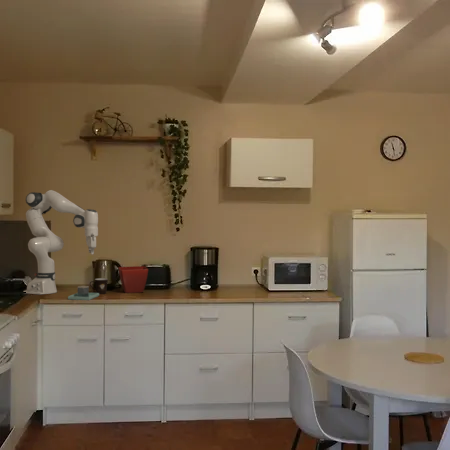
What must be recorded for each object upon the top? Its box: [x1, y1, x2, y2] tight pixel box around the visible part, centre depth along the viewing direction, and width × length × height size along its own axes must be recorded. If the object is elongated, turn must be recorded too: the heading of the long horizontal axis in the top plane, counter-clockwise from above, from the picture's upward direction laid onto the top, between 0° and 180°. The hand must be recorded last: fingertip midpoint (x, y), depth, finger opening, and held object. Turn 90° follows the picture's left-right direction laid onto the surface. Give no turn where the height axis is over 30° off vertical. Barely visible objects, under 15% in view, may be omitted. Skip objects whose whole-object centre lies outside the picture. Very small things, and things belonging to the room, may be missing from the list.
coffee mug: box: [89, 277, 109, 295], centre depth 391 cm, size 12×9×10 cm
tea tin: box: [77, 285, 90, 297], centre depth 373 cm, size 5×5×7 cm
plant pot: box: [117, 265, 149, 294], centre depth 400 cm, size 19×19×17 cm
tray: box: [67, 292, 100, 301], centre depth 374 cm, size 15×17×2 cm
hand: (91, 253), depth 384 cm, fingers open, 8 cm apart
